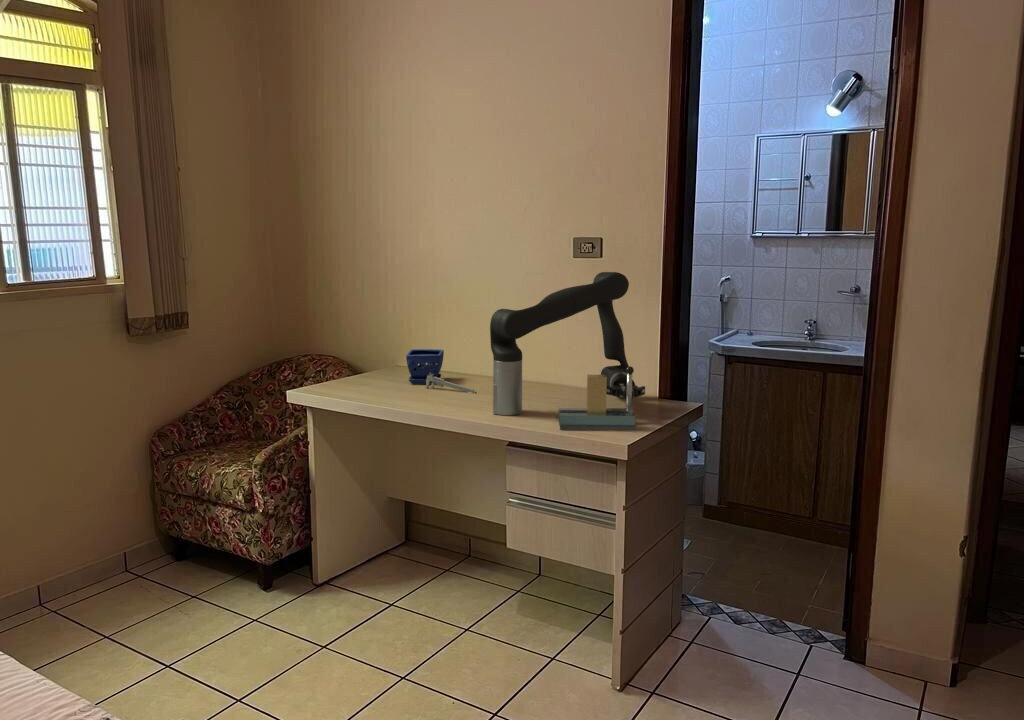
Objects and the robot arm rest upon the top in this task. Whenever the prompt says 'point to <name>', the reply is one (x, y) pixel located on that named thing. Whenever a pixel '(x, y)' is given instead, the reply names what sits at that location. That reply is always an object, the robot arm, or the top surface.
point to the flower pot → (424, 364)
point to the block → (596, 393)
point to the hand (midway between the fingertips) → (629, 396)
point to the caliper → (444, 383)
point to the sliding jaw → (610, 410)
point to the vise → (596, 421)
